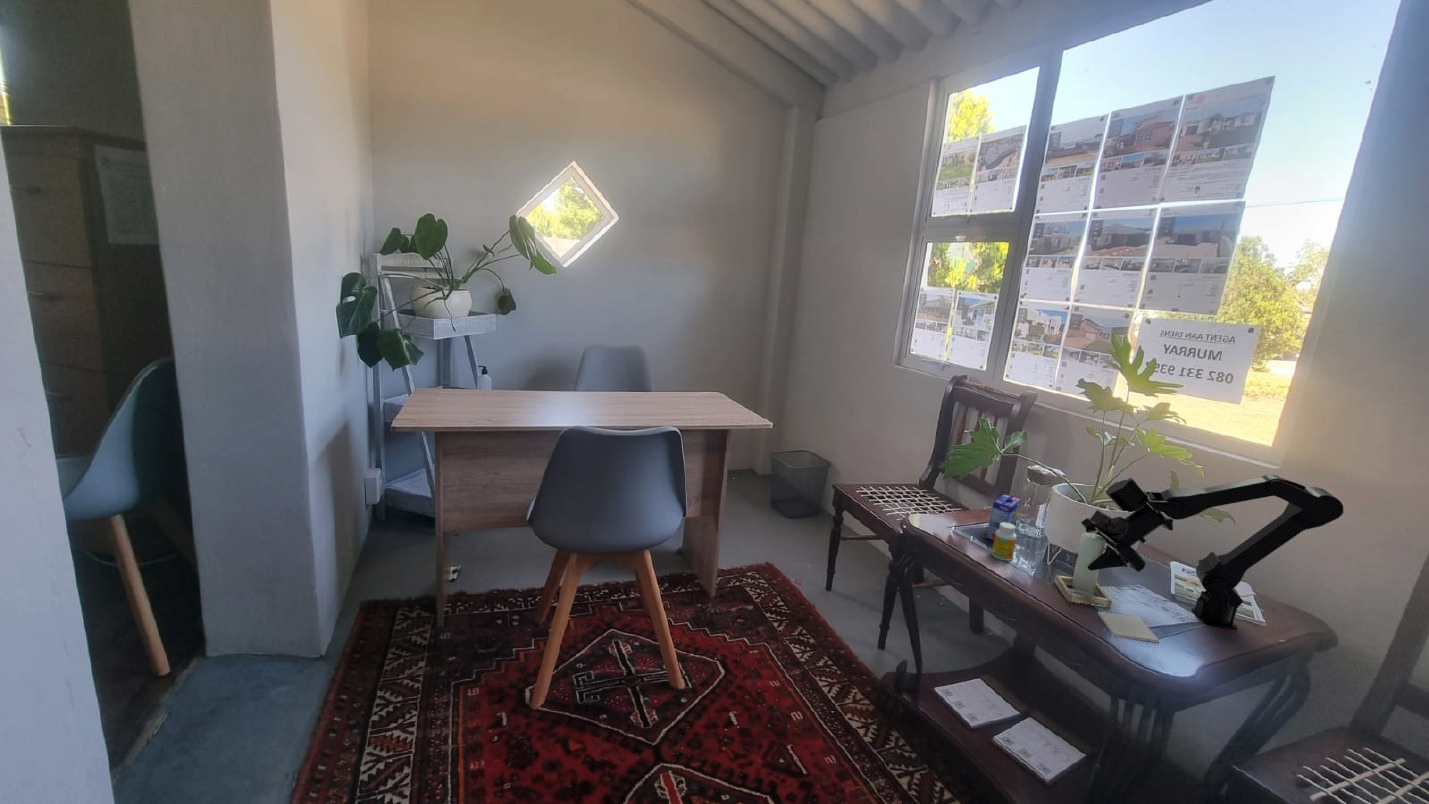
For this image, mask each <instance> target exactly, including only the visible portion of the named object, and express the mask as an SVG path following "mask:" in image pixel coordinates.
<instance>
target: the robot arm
mask: <svg viewBox="0 0 1429 804" xmlns="http://www.w3.org/2000/svg"><path fill="white" fill-rule="evenodd" d="M1105 494H1106V495H1107V496H1108V498H1110V499H1111V500H1112V502H1113V503H1115V505H1116V506H1117V507H1118V508H1119V509H1120V510H1121V511H1122V512H1128V513H1130V514H1129V515H1128V516H1126V517H1124V518H1123V517H1122V516H1117V517H1116V516H1114V517H1111V516H1110V515H1108V514H1106V513H1104V512H1102V511H1101V510H1099V509H1097V510H1095V512H1094V513H1093V515H1091V517H1087V518H1085V519H1084V520H1083V521H1081V522H1080V524H1081V525H1082V526H1083V527H1084V528H1085V533H1094V534H1097V535H1100V536H1102V537H1104V538H1105V539H1106V542H1105V544H1107V545H1106V546H1105V547H1104V551H1103V554H1102V555H1101V556H1100V557H1098V558H1097V559H1096V560H1094V561H1093V562H1092V563H1091V564H1090V565H1089V566H1088V567H1087V568H1088V569H1089V570H1098V569H1099V570H1103V569H1109V568H1110V569H1111V568H1120V567H1123V568H1128V567H1130V568H1131V569H1133V570H1134V571H1135V572H1136V573H1140V572H1141V571H1143V570H1144V569H1145V568H1146V564H1147V563H1146V561H1145V560H1144V559H1143V558H1142V557H1141V555H1140V554H1139V552H1137V550H1135V549H1134V548H1133V547H1132V546H1134V545H1135V544H1136V543H1137V544H1138V542H1140V543H1142V544H1144V543H1146V542H1147V540H1146V539H1145V538H1146V537H1148V535H1150V534H1152V533H1153V532H1154V531H1156V530H1157V529H1159V528H1161V527H1162V528H1164V529H1165V530H1168V531H1173V530H1174V525H1173V523H1174V520H1176V521H1178V520H1184V519H1188V518H1190V517H1191V518H1192V517H1194V516H1197V515H1199V514H1201V513H1203V512H1204V511H1206V510H1208V509H1211V508H1215V507H1221V506H1227V505H1231V504H1237V503H1242V502H1247V501H1248V502H1249V501H1253V500H1258V499H1259V500H1260V499H1264V498H1269V497H1277V498H1279V499H1281V500H1283V501H1285V502H1287V505H1286V507H1285V509H1284V510H1283V513H1281V514H1280V515H1279V516H1277V518H1274V520H1272V521H1271V522H1269V523H1268V524H1267V525H1265V526H1264V527H1262V528H1261V529H1260V530H1258V531H1257V532H1255V533H1254V534H1252V535H1251V536H1250V537H1248V538H1247V539H1246V540H1244V541H1243V542H1241V543H1240V544H1238V546H1236V547H1234V548H1233V549H1232V550H1230V551H1229V552H1227V553H1223V554H1220V555H1219V554H1218V555H1217V554H1216V553H1215V552H1214V551H1210V552H1209V554H1207V556H1206V557H1205V558H1203V559H1200V560H1198V564H1197V565H1196V566H1195V567H1196V568H1195V575H1196V576H1197V578H1198V580H1199V582H1200V584H1201V585H1202V587H1203V589H1204V590H1205V591H1204V590H1202V591H1201V592H1200V595H1199V596H1198V597H1197V600H1196V602H1195V607H1193V608H1191V611H1192V612H1193V613H1194V614H1195V615H1196V616H1197V617H1198V618H1199V620H1201V621H1202V623H1204V624H1205V625H1207V626H1215V627H1220V628H1227V629H1232V630H1233V629H1234V630H1238V626H1237V625H1236V624H1235V623H1234V622H1235V618H1236V614H1237V611H1238V608H1239V607H1240V606H1241V605H1242V604H1243V603H1244V601H1243V599H1242V598H1241V595H1240V594H1239V593H1238V591H1237V590H1236V587H1237V586H1238V585H1239V584H1240V583H1241V581H1242V579H1243V578H1244V576H1245V574H1246V572H1247V570H1249V569H1251V568H1252V567H1253V566H1254V565H1256V564H1258V563H1259V562H1261V561H1262V560H1264V559H1265V558H1266V557H1268V556H1269V555H1270V554H1272V553H1273V552H1275V551H1276V550H1278V549H1279V548H1281V547H1282V546H1284V545H1285V544H1286V543H1288V542H1289V541H1291V540H1292V539H1294V538H1295V537H1296V536H1298V535H1299V534H1301V533H1303V532H1304V531H1307V530H1311V529H1316V528H1319V527H1322V526H1325V525H1327V524H1329V523H1331V522H1334V521H1335V520H1338V519H1339V518H1341V516H1342V515H1343V514H1344V513H1345V511H1344V505H1343V503H1342V502H1341V501H1340V500H1339V498H1337V497H1335V496H1334V495H1333V494H1331V493H1330V492H1328V491H1327V490H1326V489H1324V488H1322V487H1317V486H1314V487H1313V486H1305V485H1304V484H1303V485H1302V484H1300V483H1298V482H1295V481H1291V480H1289V479H1284V478H1282V477H1280V476H1279V475H1276V474H1273V473H1268V474H1264V475H1263V476H1258V477H1254V478H1249V479H1243V480H1238V481H1233V482H1229V483H1225V484H1218V485H1214V486H1209V487H1205V488H1203V487H1202V488H1190V487H1189V488H1187V487H1185V488H1183V487H1182V488H1181V487H1180V488H1168V489H1166V490H1163V491H1145V490H1143V489H1142V488H1141V487H1140V486H1139V485H1138V483H1137V482H1136V480H1135V479H1134V478H1133V477H1129V478H1128V479H1123V480H1120V481H1116V482H1114V483H1113V484H1112V485H1110V486H1109V487H1108V488H1107V489H1106V490H1105ZM1166 516H1167V517H1166ZM1074 556H1075V558H1076V559H1077V557H1078V552H1077V553H1076V555H1074ZM1128 564H1129V565H1128Z"/></svg>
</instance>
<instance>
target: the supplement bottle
mask: <svg viewBox="0 0 1429 804" xmlns="http://www.w3.org/2000/svg"><path fill="white" fill-rule="evenodd" d="M1015 531H1016V526H1014V525H1013V524H1010V523H1005V522H1002V523H1000V526H999V530H997V531H996V533H995V539H994V540H993V544H992V545H993V546H992V551H991V554H992V556H993V557H994V558H996V559H998V560H1000V561H1006V562H1007V561H1008V562H1009V561H1012V560H1013V558H1014V552H1015V547H1016V542H1017V534H1016V533H1015Z"/></svg>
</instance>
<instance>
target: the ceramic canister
mask: <svg viewBox="0 0 1429 804" xmlns="http://www.w3.org/2000/svg"><path fill="white" fill-rule="evenodd" d="M1105 545H1106V539H1105V538H1104V537H1102V536H1100V535H1097V534H1094V533H1087V532H1083V533H1082V534H1081V539H1080V543H1079V548H1078V552H1077V553H1078V557H1077V558H1076V562H1075V566H1074V571H1073V572H1074V573H1073V576H1072V578H1073V581H1072V586H1071V587H1072V588H1074V589H1076V590H1077V591H1079V592H1082V593H1086V594H1087V593H1088V594H1092V593H1095V587H1096V583H1098V579H1099V578H1098V577H1099V574H1100V569H1098V570H1089V569H1088V568H1087V567H1088V566H1089V565H1090V564H1091V563H1092V562H1093V561H1094V560H1096V559H1097V558H1098V557H1100V556H1101V555H1102V554H1103V553H1104V552H1105V550H1104V548H1105V547H1106V546H1105Z"/></svg>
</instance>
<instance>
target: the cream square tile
mask: <svg viewBox="0 0 1429 804" xmlns="http://www.w3.org/2000/svg"><path fill="white" fill-rule="evenodd" d="M1097 613H1098V614H1097V615H1098V616H1099V618H1100V619H1101V620H1102V622H1103V621H1104V622H1103V623H1104V625H1106V627H1107V629H1108V630H1109V629H1110V630H1109V632H1110V633H1111V634H1112V635H1113V637H1118V636H1120V637H1119V638H1125V639H1132V640H1136V641H1137V640H1139V641H1143V642H1150V643H1151V642H1152V643H1156V644H1157V643H1158V644H1159V642H1160V639H1159V638H1158V637H1157V636H1156V635H1155V634H1154V632H1152V630H1151V629H1150V627H1148V625H1146V623H1145V622H1144V621H1143V620H1142V619H1141V618H1140V617H1138V616H1130V615H1124V614H1117V613H1112V612H1103V611H1097Z"/></svg>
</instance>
